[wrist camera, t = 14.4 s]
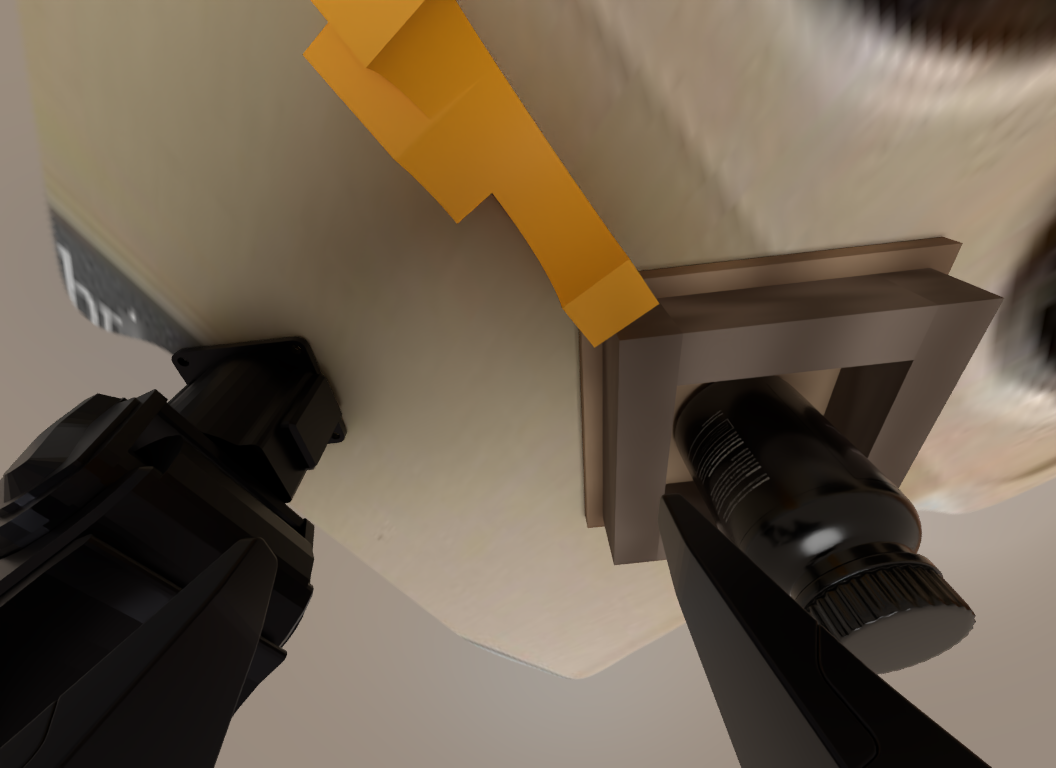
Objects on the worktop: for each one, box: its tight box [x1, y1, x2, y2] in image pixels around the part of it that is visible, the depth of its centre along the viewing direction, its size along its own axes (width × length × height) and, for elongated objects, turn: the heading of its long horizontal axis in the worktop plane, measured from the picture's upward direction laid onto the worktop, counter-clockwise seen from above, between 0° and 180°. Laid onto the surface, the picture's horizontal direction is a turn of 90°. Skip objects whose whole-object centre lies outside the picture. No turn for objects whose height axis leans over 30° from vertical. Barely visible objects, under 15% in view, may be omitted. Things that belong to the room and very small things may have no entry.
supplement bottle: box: [675, 375, 976, 674], centre depth 19 cm, size 7×7×12 cm
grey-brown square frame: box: [579, 237, 1004, 565], centre depth 23 cm, size 17×17×4 cm
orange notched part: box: [303, 0, 659, 348], centre depth 15 cm, size 12×4×6 cm, turn 38°
